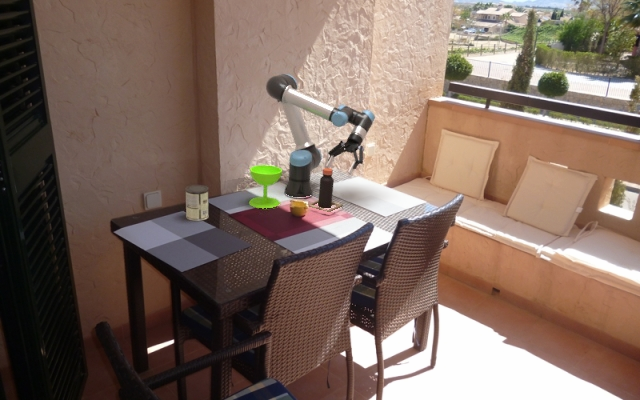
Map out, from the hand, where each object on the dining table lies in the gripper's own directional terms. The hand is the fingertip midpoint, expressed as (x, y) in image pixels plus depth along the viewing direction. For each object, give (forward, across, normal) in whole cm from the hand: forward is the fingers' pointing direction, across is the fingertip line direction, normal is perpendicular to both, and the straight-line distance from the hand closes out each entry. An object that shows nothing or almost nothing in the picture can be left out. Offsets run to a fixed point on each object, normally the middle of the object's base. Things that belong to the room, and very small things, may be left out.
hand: (338, 170), depth 260 cm
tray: (+19, +1, -8) cm, 21 cm away
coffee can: (+56, +36, +30) cm, 73 cm away
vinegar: (+19, +1, -7) cm, 20 cm away
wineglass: (+31, +27, +4) cm, 41 cm away
